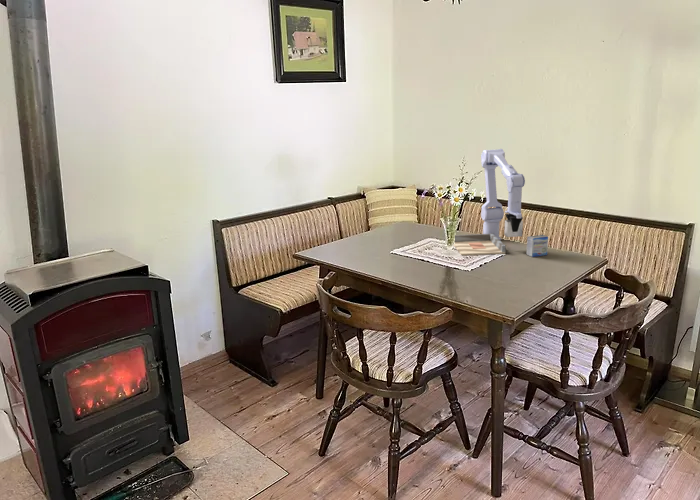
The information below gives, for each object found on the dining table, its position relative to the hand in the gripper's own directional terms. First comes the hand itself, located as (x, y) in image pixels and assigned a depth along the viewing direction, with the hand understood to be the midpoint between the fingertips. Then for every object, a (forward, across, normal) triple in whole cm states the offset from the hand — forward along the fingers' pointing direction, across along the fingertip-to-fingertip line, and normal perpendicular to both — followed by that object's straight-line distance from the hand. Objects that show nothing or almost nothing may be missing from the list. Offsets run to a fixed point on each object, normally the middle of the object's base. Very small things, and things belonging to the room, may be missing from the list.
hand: (513, 230), depth 249 cm
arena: (+9, -6, -15) cm, 19 cm away
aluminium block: (+2, 0, 0) cm, 2 cm away
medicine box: (+10, +9, +8) cm, 16 cm away
